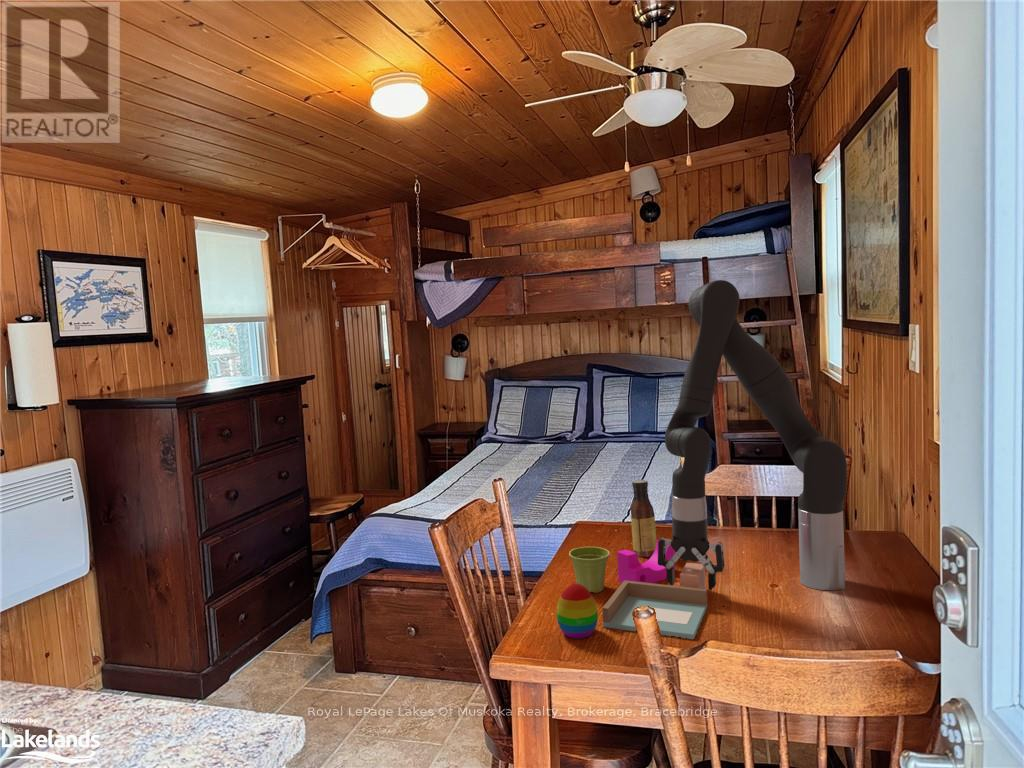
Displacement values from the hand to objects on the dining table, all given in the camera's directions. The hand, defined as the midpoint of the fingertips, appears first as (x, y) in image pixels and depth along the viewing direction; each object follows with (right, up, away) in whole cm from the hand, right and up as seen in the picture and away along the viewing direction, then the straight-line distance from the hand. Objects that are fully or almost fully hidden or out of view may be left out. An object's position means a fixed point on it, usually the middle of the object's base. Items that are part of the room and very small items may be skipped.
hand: (691, 586), depth 152 cm
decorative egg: (-27, -5, -16) cm, 32 cm away
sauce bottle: (-5, 0, +29) cm, 29 cm away
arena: (-10, -3, -11) cm, 15 cm away
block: (0, -2, 0) cm, 2 cm away
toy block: (-7, -2, +12) cm, 14 cm away
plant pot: (-22, -3, +7) cm, 23 cm away
